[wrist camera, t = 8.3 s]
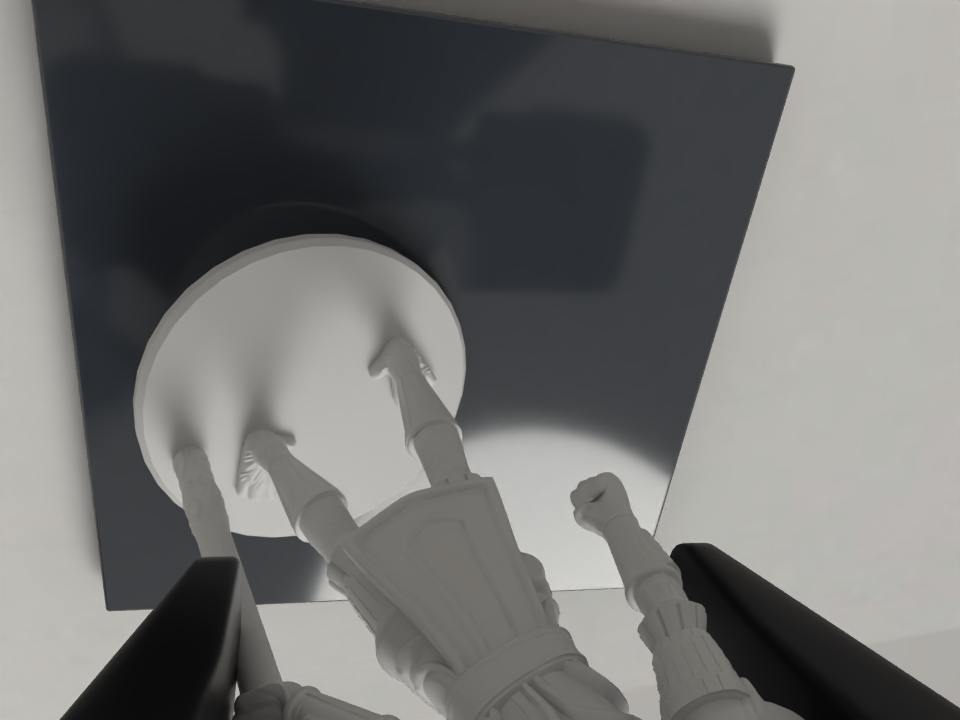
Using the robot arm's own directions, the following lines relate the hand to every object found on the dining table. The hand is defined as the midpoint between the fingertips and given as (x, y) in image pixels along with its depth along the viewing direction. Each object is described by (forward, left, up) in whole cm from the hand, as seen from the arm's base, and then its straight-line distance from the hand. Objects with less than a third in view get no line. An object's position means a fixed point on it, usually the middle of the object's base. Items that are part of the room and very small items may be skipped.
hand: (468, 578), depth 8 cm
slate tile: (0, 0, -6) cm, 6 cm away
